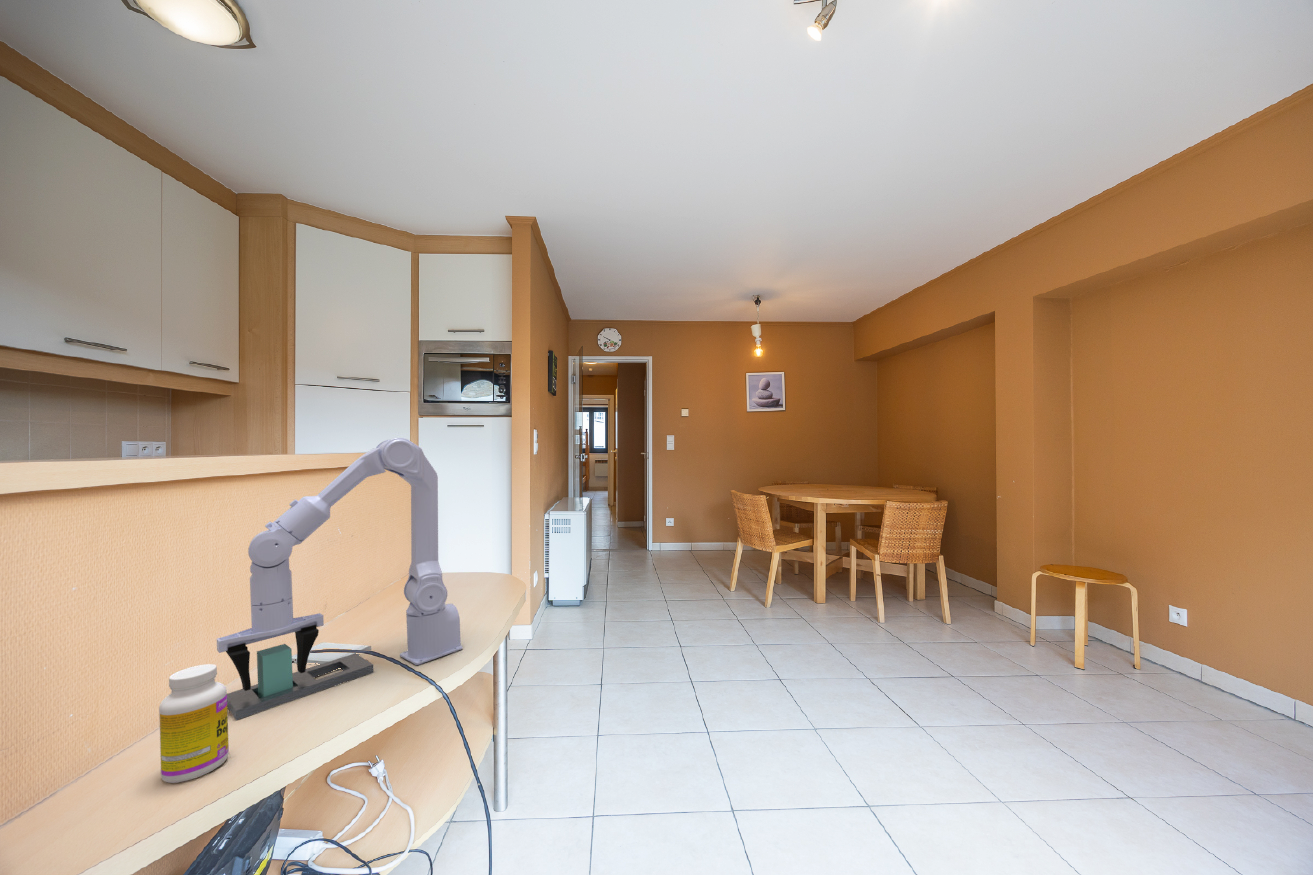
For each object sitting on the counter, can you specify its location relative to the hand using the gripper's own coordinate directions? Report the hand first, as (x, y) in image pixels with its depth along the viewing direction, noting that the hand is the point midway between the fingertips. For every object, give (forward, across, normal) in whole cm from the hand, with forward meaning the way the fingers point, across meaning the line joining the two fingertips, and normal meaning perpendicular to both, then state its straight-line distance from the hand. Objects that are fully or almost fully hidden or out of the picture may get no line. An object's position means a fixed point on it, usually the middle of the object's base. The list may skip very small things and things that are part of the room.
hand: (274, 679), depth 86 cm
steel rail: (+3, -4, 0) cm, 5 cm away
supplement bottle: (+3, +12, +16) cm, 20 cm away
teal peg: (+3, 0, 0) cm, 3 cm away
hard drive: (+4, -12, -12) cm, 17 cm away
